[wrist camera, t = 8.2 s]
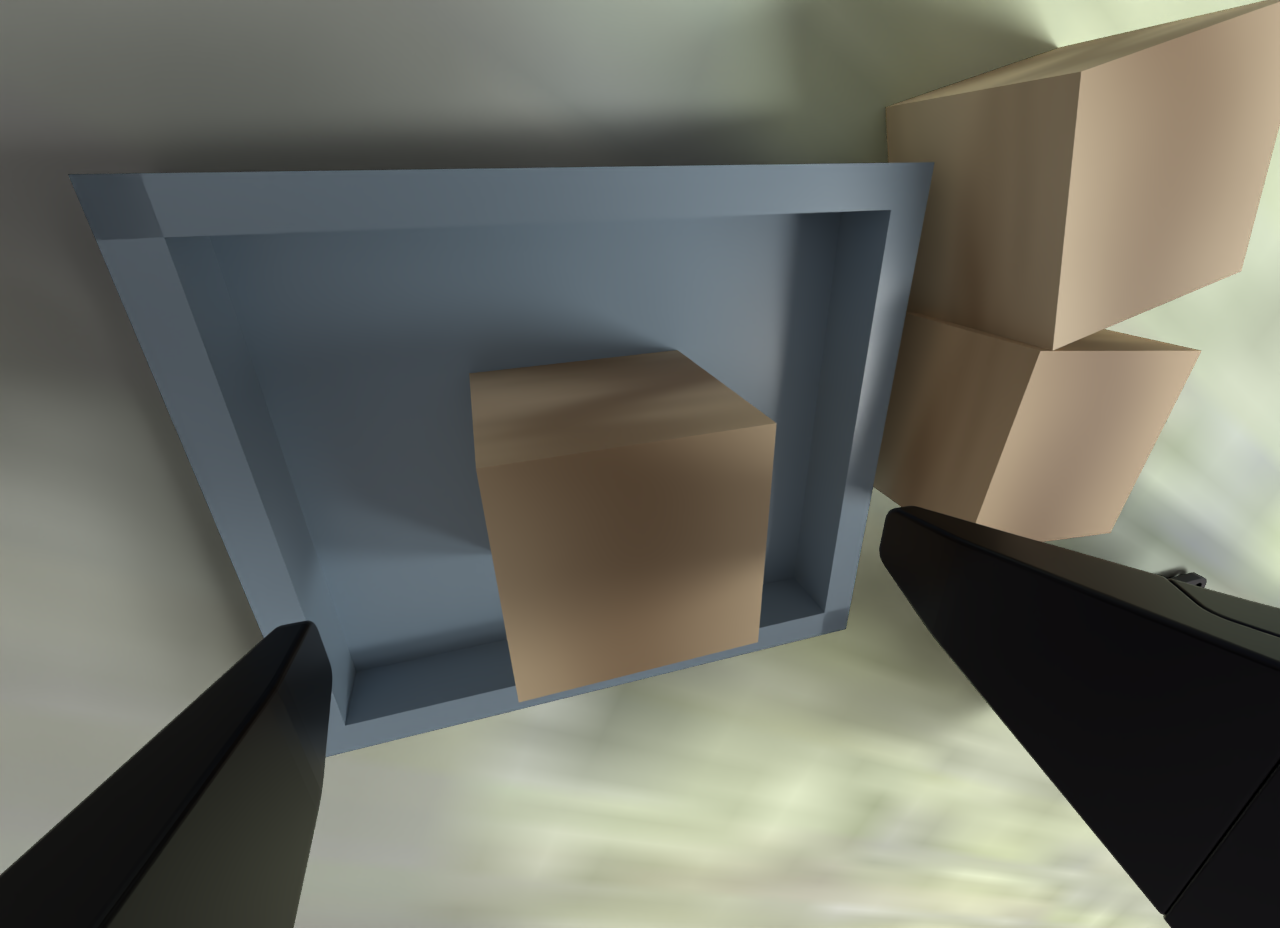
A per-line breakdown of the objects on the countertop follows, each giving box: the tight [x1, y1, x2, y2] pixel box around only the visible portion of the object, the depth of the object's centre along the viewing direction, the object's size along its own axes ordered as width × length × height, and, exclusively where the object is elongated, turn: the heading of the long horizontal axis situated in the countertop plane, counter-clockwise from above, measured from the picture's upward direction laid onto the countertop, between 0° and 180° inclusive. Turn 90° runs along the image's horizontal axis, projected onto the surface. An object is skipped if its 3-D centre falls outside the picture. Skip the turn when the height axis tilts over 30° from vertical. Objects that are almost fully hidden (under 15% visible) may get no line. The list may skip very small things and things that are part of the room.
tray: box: [68, 162, 935, 757], centre depth 13 cm, size 14×12×2 cm
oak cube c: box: [885, 0, 1280, 350], centre depth 12 cm, size 4×4×4 cm
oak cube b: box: [873, 310, 1201, 542], centre depth 14 cm, size 4×4×4 cm
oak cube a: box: [469, 350, 777, 702], centre depth 11 cm, size 4×4×4 cm
